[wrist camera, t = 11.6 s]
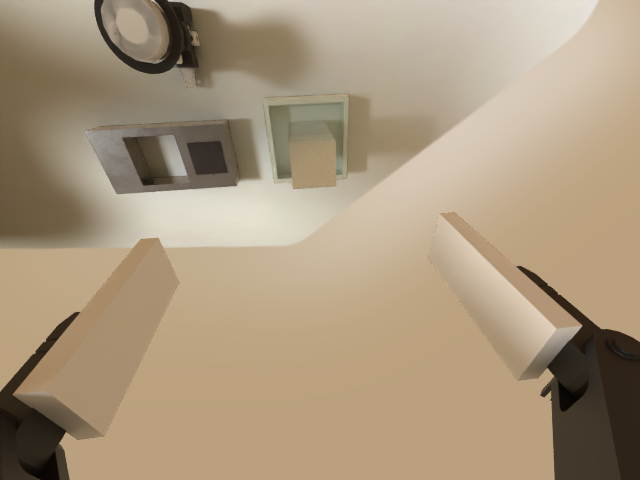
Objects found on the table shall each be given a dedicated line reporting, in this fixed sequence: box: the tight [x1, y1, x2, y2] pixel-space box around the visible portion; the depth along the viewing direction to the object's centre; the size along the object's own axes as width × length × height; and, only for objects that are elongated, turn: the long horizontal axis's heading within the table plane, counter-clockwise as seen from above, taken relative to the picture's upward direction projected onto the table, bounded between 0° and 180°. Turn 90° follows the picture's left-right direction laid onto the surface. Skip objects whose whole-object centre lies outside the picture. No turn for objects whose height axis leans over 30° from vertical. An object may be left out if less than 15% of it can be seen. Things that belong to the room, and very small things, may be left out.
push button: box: [94, 0, 200, 87], centre depth 22 cm, size 7×5×10 cm
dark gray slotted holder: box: [85, 120, 240, 194], centre depth 30 cm, size 14×7×3 cm, turn 92°
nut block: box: [289, 120, 336, 189], centre depth 27 cm, size 4×4×10 cm
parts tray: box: [263, 94, 349, 183], centre depth 31 cm, size 9×9×2 cm
